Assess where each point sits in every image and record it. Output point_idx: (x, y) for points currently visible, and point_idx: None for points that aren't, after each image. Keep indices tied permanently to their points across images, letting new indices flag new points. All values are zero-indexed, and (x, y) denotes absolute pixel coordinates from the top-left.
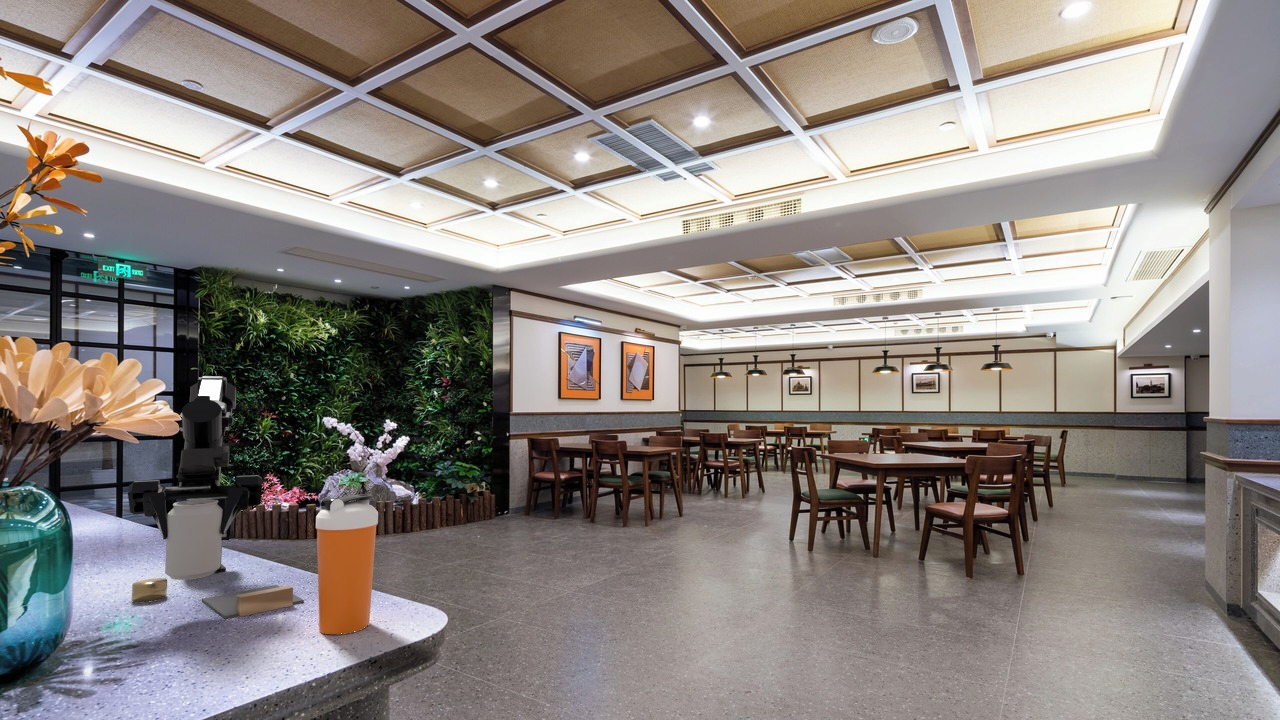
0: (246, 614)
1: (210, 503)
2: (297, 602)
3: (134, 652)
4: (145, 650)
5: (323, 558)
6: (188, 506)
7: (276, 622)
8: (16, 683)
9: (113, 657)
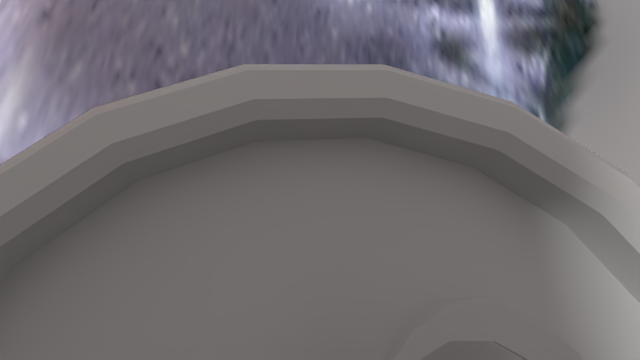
0: None
1: (69, 127)
2: None
3: (409, 66)
4: (386, 64)
5: None
6: (511, 123)
7: (36, 68)
8: (596, 27)
9: (449, 62)
